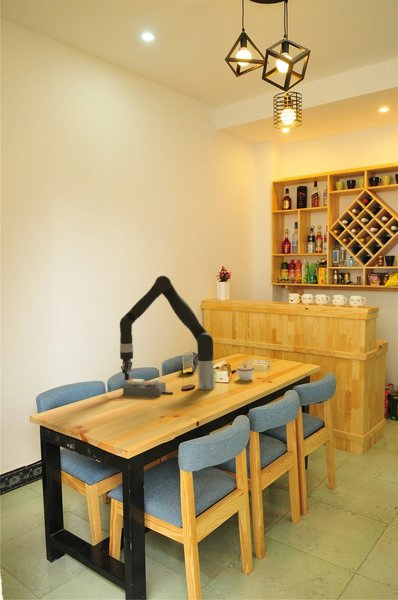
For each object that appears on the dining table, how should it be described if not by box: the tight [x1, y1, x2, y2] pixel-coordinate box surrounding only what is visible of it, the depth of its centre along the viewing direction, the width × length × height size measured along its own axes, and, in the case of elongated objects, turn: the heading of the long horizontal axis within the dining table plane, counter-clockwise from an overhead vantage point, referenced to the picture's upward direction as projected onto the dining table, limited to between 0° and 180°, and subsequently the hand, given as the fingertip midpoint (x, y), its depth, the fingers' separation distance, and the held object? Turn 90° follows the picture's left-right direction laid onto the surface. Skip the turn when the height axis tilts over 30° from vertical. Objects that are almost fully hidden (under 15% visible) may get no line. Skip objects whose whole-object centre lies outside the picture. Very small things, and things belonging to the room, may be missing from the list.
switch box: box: [122, 381, 174, 398], centre depth 264 cm, size 28×12×5 cm, turn 78°
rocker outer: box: [125, 378, 145, 385], centre depth 265 cm, size 9×6×2 cm, turn 78°
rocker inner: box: [144, 377, 162, 385], centre depth 263 cm, size 9×6×2 cm, turn 77°
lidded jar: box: [236, 364, 255, 382], centre depth 287 cm, size 11×11×9 cm
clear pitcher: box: [181, 351, 198, 373], centre depth 318 cm, size 10×28×10 cm, turn 174°
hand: (126, 379), depth 266 cm, fingers closed
